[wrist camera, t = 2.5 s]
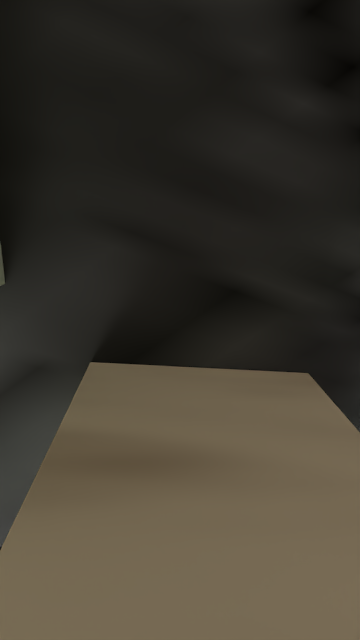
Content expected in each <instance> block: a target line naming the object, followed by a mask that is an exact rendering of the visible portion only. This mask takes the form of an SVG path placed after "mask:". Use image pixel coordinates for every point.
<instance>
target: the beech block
mask: <svg viewBox="0 0 360 640" xmlns="http://www.w3.org/2000/svg"><path fill="white" fill-rule="evenodd" d="M0 640H360V432H359V431H358V430H357V429H356V428H355V427H354V425H353V424H352V423H351V422H350V421H349V420H348V418H347V417H346V416H345V415H344V414H343V413H342V412H341V410H340V409H339V408H338V407H337V406H336V405H335V404H334V402H333V401H332V400H331V399H330V398H329V397H328V395H327V394H326V393H325V392H324V391H323V390H322V389H321V387H320V386H319V385H318V384H317V383H316V382H315V380H314V379H313V378H312V377H311V376H310V375H309V374H308V373H296V372H276V371H256V370H236V369H216V368H196V367H177V366H157V365H137V364H117V363H97V362H90V364H89V366H88V368H87V370H86V372H85V374H84V377H83V379H82V381H81V383H80V385H79V387H78V389H77V391H76V393H75V395H74V397H73V399H72V402H71V404H70V406H69V408H68V410H67V412H66V414H65V416H64V418H63V420H62V422H61V424H60V427H59V429H58V431H57V433H56V435H55V437H54V439H53V441H52V443H51V445H50V447H49V450H48V452H47V454H46V456H45V458H44V460H43V462H42V464H41V466H40V468H39V470H38V472H37V475H36V477H35V479H34V481H33V483H32V485H31V487H30V489H29V491H28V493H27V495H26V498H25V500H24V502H23V504H22V506H21V508H20V510H19V512H18V514H17V516H16V518H15V520H14V523H13V525H12V527H11V529H10V531H9V533H8V535H7V537H6V539H5V541H4V543H3V545H2V548H1V550H0Z"/></svg>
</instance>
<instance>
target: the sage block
mask: <svg viewBox="0 0 360 640" xmlns="http://www.w3.org/2000/svg"><path fill="white" fill-rule="evenodd" d="M4 284H5V277H4V269H3V260H2V251H1V243H0V286H2V285H4Z"/></svg>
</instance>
